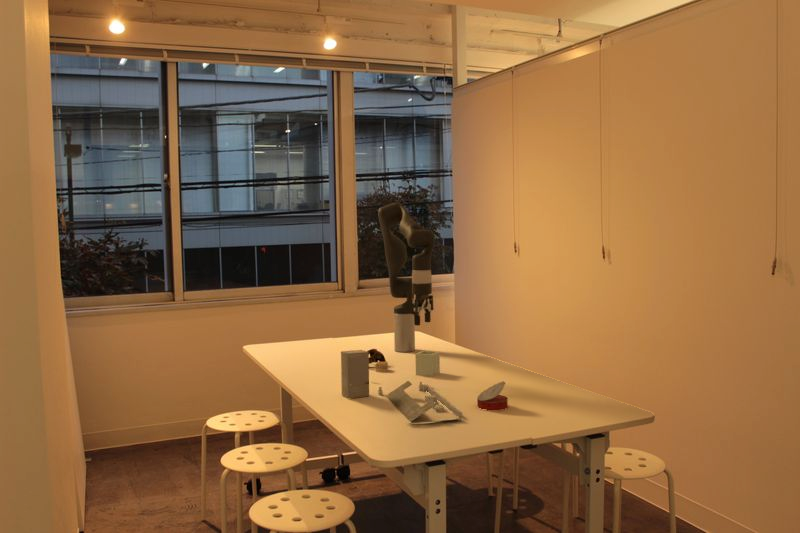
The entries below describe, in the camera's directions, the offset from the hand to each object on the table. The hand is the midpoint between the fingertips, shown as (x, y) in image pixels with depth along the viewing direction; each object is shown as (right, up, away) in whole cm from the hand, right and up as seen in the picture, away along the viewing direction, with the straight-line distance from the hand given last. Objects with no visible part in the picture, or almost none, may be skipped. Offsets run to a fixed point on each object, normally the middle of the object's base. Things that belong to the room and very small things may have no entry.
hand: (422, 323), depth 301 cm
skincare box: (-24, -23, -27) cm, 43 cm away
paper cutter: (-2, -25, -44) cm, 51 cm away
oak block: (-16, -20, +10) cm, 27 cm away
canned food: (+21, -24, -46) cm, 56 cm away
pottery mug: (-19, -19, +23) cm, 36 cm away
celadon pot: (+2, -20, +2) cm, 20 cm away
